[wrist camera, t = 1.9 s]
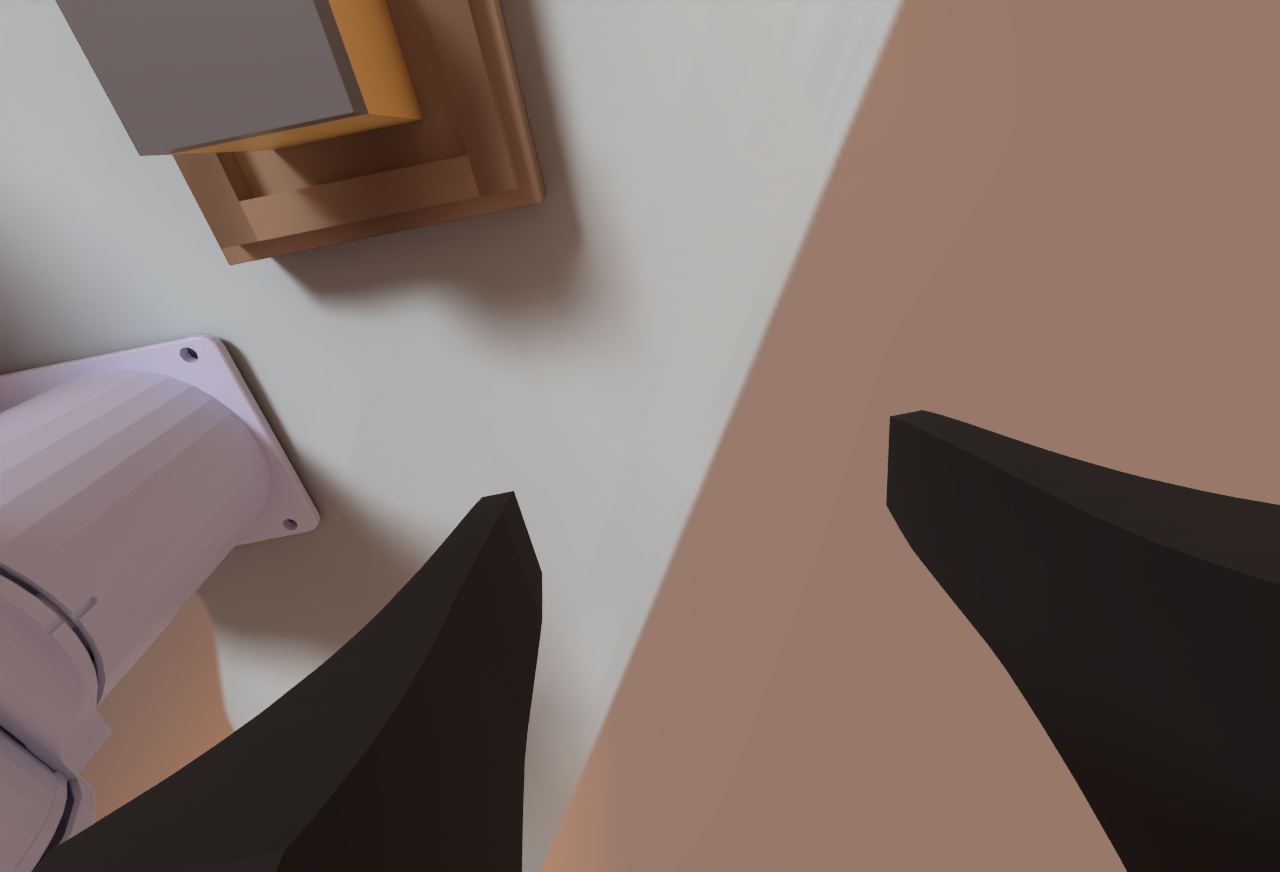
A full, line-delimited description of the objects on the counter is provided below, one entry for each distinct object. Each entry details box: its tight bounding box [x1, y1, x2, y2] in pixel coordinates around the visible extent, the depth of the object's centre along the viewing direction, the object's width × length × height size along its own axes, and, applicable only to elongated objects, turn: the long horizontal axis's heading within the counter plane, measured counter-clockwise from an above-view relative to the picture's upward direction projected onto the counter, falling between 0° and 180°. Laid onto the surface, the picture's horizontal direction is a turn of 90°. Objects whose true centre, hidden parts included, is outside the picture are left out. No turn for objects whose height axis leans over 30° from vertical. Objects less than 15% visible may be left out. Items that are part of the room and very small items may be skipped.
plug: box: [56, 0, 423, 156], centre depth 12 cm, size 4×4×5 cm
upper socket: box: [172, 0, 547, 265], centre depth 14 cm, size 9×9×3 cm
